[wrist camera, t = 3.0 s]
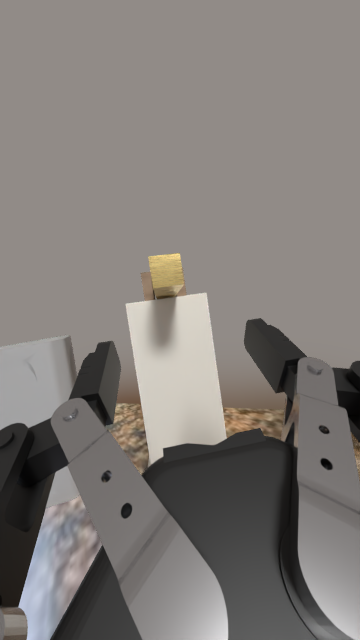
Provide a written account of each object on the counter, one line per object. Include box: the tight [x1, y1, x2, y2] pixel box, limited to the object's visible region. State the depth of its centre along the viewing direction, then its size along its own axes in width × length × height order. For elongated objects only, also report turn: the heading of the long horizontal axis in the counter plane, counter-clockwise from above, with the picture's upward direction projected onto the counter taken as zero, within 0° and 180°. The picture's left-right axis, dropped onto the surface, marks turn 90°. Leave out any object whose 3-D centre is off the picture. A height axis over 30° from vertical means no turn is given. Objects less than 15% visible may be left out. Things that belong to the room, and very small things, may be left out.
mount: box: [126, 268, 227, 467], centre depth 37 cm, size 20×16×37 cm
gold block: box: [149, 253, 184, 299], centre depth 30 cm, size 24×3×3 cm, turn 6°
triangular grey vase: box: [0, 335, 80, 508], centre depth 38 cm, size 19×15×28 cm
